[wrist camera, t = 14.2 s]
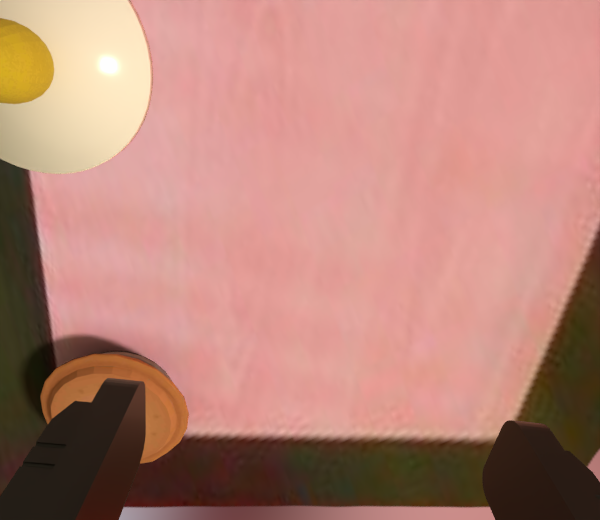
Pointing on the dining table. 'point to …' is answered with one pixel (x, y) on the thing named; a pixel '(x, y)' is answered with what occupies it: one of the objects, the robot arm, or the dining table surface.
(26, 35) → the lemon
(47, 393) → the pie
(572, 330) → the dining table surface
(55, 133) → the saucer
